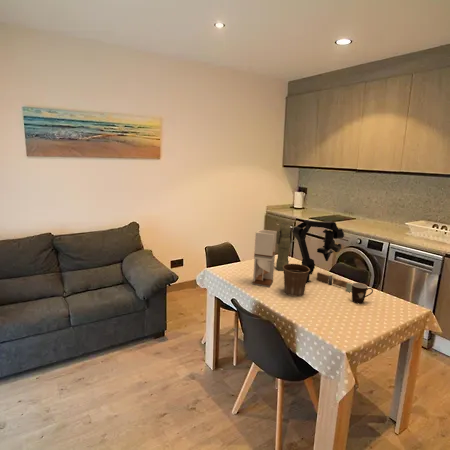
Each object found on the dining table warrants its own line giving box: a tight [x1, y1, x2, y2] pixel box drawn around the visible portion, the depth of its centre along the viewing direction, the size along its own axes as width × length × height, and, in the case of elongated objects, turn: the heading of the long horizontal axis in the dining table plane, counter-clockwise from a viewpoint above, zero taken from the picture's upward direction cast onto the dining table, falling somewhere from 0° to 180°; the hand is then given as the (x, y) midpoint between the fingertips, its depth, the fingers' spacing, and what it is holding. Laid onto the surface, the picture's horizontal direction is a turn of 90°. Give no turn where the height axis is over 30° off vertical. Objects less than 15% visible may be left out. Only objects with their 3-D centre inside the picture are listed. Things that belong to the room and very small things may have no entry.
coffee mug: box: [351, 282, 374, 305], centre depth 195 cm, size 12×9×10 cm
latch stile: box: [345, 282, 352, 293], centre depth 210 cm, size 2×3×6 cm, turn 43°
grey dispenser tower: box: [252, 229, 278, 288], centre depth 215 cm, size 11×11×35 cm
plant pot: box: [283, 263, 310, 297], centre depth 204 cm, size 16×16×16 cm
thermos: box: [275, 222, 293, 272], centre depth 245 cm, size 9×12×35 cm
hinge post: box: [316, 272, 334, 286], centre depth 224 cm, size 2×11×6 cm, turn 43°
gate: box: [332, 277, 352, 289], centre depth 215 cm, size 14×2×4 cm, turn 47°
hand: (326, 261), depth 229 cm, fingers closed
